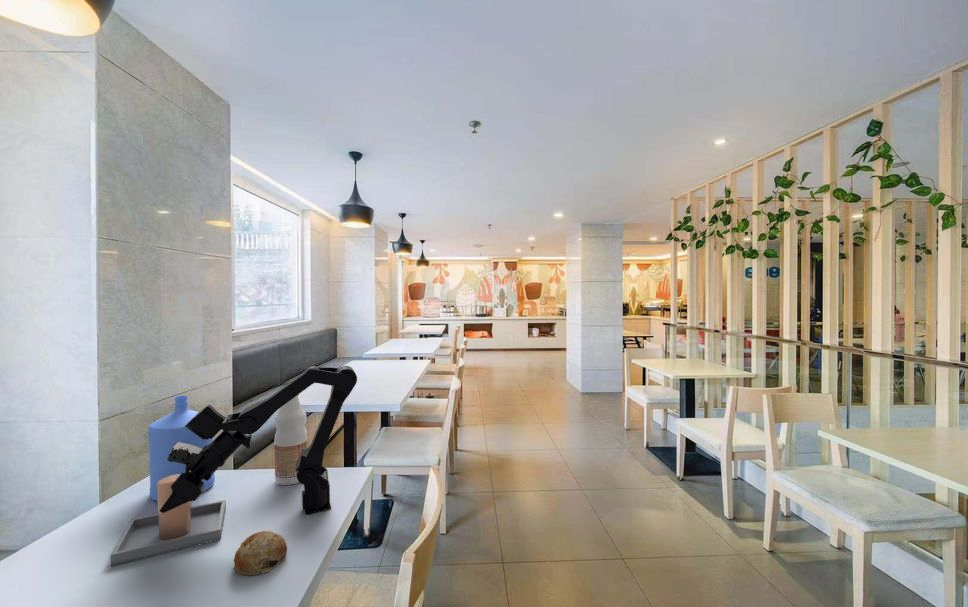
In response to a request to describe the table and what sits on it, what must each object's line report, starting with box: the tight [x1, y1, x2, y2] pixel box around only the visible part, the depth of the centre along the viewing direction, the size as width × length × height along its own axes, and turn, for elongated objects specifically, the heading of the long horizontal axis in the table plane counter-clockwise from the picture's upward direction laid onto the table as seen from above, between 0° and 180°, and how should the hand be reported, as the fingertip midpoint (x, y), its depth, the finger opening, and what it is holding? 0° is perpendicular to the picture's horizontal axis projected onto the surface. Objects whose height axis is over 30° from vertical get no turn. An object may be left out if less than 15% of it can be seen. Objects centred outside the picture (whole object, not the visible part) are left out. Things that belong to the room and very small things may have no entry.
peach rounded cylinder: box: [157, 474, 192, 540], centre depth 100 cm, size 6×6×13 cm
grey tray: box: [110, 499, 227, 567], centre depth 101 cm, size 20×16×2 cm
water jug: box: [147, 395, 216, 502], centre depth 123 cm, size 16×16×28 cm
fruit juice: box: [273, 394, 309, 486], centre depth 130 cm, size 9×9×28 cm
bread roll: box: [233, 530, 288, 576], centre depth 90 cm, size 10×10×8 cm
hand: (167, 502), depth 100 cm, fingers open, 9 cm apart
